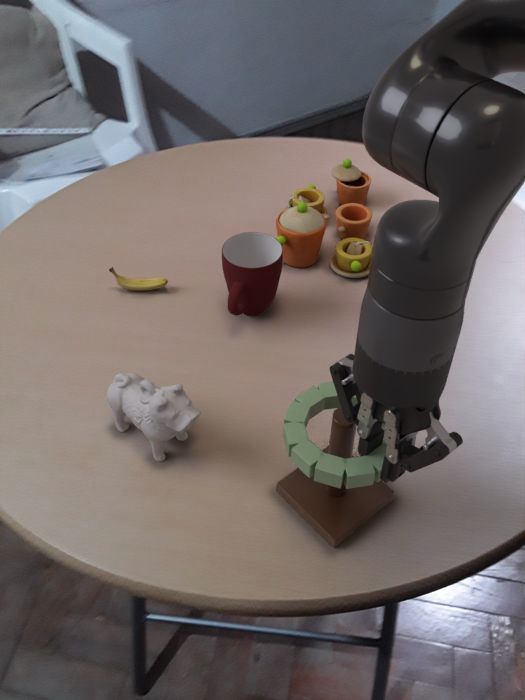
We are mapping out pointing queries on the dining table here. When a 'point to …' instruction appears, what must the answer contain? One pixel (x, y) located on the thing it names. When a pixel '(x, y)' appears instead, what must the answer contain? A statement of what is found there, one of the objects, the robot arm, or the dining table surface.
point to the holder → (334, 491)
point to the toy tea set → (310, 223)
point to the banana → (139, 282)
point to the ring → (312, 458)
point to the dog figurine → (151, 409)
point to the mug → (251, 272)
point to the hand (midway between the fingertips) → (379, 466)
